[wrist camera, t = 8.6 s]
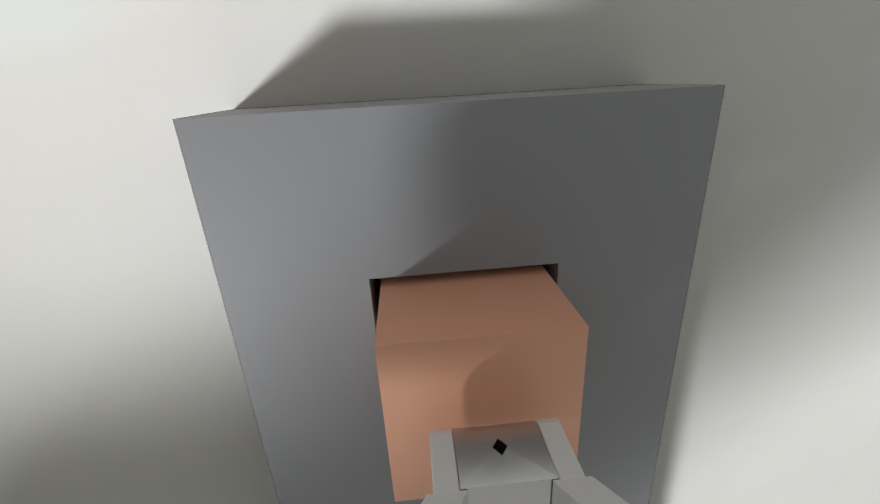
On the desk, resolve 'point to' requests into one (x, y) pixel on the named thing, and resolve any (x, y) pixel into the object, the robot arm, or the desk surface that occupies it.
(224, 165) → the console
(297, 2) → the desk surface
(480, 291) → the key terracotta
